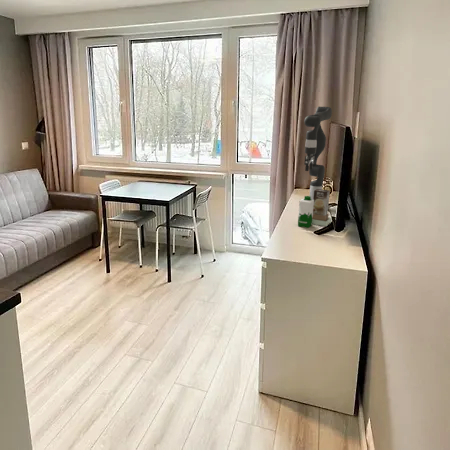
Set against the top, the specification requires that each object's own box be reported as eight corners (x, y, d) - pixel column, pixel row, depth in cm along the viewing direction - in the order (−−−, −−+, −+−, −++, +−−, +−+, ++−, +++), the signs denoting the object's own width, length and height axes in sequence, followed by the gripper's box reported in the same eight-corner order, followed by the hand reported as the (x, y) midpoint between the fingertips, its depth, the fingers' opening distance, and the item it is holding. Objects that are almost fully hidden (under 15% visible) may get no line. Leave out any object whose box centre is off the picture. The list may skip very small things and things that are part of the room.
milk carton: (313, 226, 253) (315, 196, 247) (309, 230, 246) (311, 199, 240) (300, 224, 257) (302, 195, 251) (295, 227, 250) (297, 197, 244)
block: (313, 219, 264) (314, 211, 262) (327, 222, 259) (328, 213, 258) (309, 222, 257) (310, 214, 256) (324, 225, 253) (325, 216, 251)
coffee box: (311, 213, 256) (313, 190, 252) (314, 211, 262) (316, 188, 257) (324, 216, 252) (327, 191, 247) (327, 213, 257) (330, 190, 252)
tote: (311, 220, 267) (312, 214, 266) (331, 223, 260) (331, 217, 259) (306, 224, 257) (306, 218, 256) (326, 227, 251) (326, 221, 249)
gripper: (308, 145, 270) (306, 168, 275) (301, 146, 258) (300, 171, 263) (319, 145, 266) (317, 169, 271) (312, 147, 255) (310, 172, 259)
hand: (308, 170), depth 267 cm, fingers open, 8 cm apart
